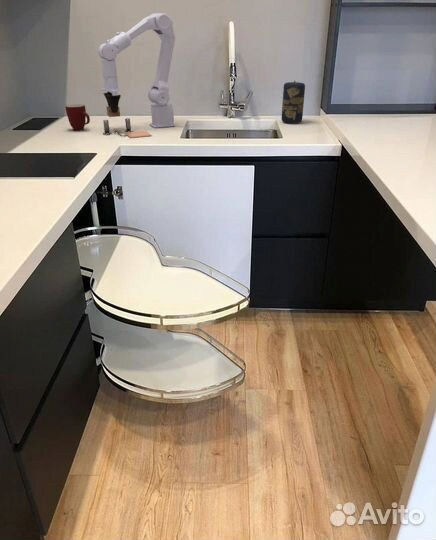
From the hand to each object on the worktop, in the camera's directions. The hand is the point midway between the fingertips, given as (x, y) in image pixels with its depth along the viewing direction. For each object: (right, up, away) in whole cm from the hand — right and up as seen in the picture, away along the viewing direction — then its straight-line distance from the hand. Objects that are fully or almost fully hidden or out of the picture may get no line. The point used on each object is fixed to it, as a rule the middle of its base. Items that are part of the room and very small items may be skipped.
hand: (113, 111), depth 192 cm
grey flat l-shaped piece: (+3, -9, -1) cm, 10 cm away
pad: (+11, -11, -3) cm, 16 cm away
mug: (-15, -6, +6) cm, 17 cm away
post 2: (+6, -8, +1) cm, 10 cm away
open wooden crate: (0, -1, +1) cm, 2 cm away
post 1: (-2, -10, -2) cm, 10 cm away
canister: (+78, +1, +19) cm, 80 cm away
